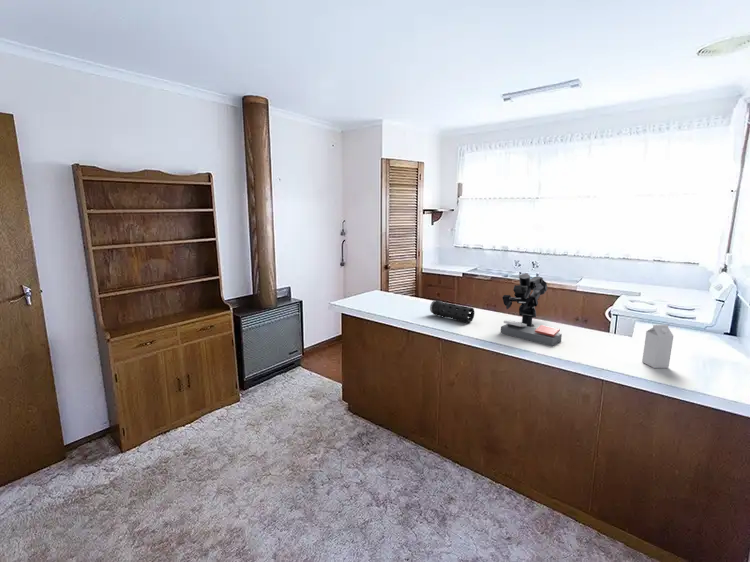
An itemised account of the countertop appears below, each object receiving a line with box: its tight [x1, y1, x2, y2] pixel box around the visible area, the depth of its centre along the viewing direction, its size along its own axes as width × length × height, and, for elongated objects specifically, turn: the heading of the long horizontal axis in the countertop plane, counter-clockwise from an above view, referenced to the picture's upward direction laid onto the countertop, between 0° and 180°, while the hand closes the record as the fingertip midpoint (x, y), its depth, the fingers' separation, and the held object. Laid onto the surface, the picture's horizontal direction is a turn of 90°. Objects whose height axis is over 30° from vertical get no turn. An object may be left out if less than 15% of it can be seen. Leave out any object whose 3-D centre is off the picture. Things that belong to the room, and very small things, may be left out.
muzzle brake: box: [429, 300, 475, 324], centre depth 248 cm, size 10×28×10 cm, turn 47°
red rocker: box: [535, 324, 561, 337], centre depth 207 cm, size 8×10×1 cm
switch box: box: [500, 323, 563, 347], centre depth 214 cm, size 12×29×5 cm, turn 44°
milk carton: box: [641, 324, 674, 369], centre depth 174 cm, size 7×7×19 cm
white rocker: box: [503, 320, 527, 327], centre depth 219 cm, size 8×10×1 cm
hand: (514, 308), depth 213 cm, fingers open, 9 cm apart
